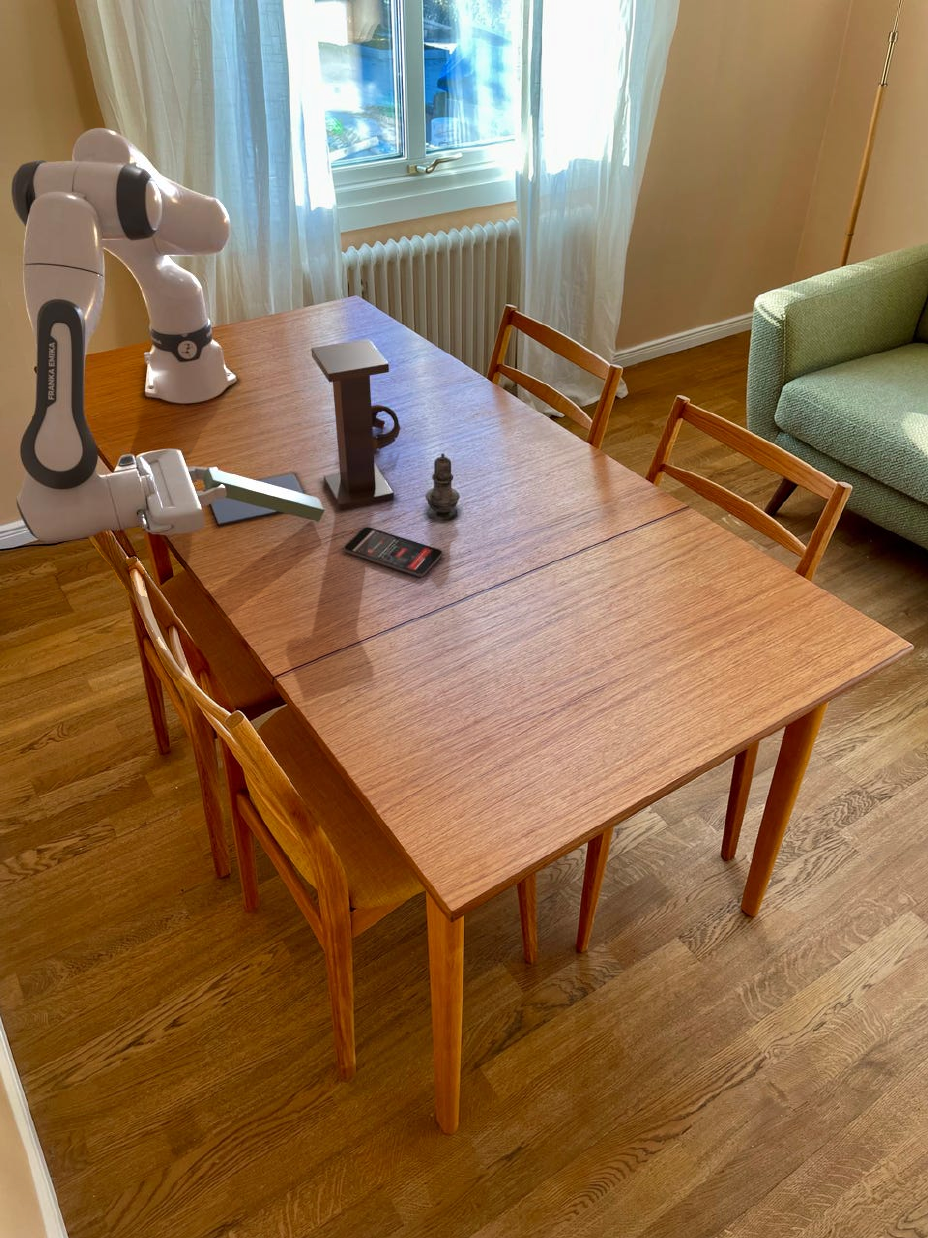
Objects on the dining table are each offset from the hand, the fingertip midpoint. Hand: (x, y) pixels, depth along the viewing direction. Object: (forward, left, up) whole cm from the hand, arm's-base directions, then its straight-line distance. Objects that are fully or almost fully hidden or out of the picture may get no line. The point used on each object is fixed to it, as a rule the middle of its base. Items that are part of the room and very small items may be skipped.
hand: (222, 481), depth 151 cm
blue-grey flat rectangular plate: (-10, +7, -11) cm, 17 cm away
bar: (0, +6, -5) cm, 8 cm away
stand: (-6, +24, -11) cm, 27 cm away
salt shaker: (+6, +36, -11) cm, 38 cm away
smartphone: (+14, +24, -11) cm, 30 cm away
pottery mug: (-22, +32, -11) cm, 40 cm away
